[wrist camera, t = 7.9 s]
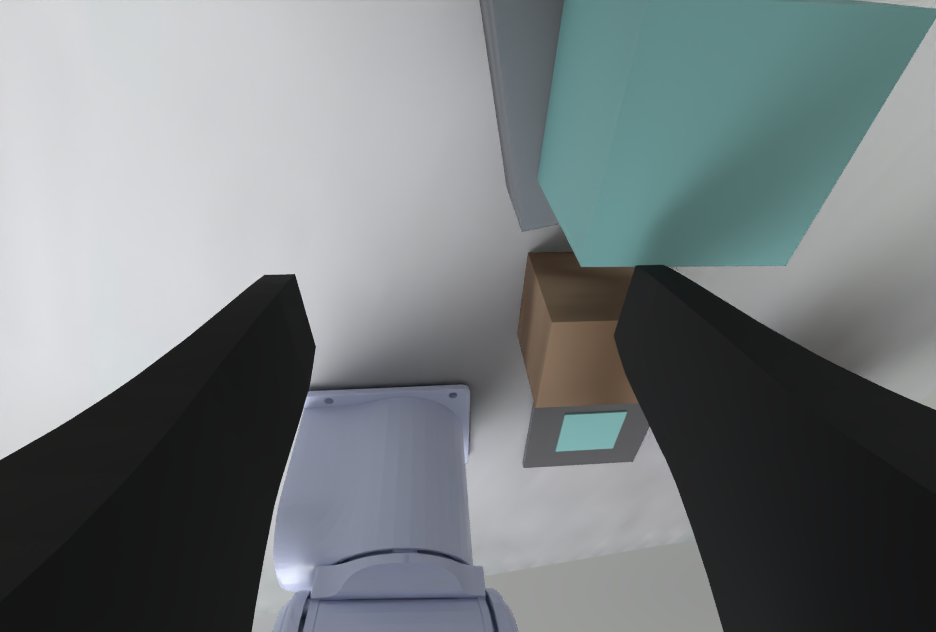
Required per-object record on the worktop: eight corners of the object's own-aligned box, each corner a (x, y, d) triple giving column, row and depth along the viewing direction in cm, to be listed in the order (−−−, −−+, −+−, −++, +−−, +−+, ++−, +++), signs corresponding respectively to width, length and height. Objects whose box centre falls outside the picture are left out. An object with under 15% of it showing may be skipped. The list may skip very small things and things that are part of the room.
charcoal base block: (505, 184, 18) (521, 231, 15) (475, -27, 14) (489, -20, 10) (676, 147, 18) (729, 188, 14) (703, -84, 13) (788, -96, 10)
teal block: (537, 179, 14) (581, 266, 10) (566, -21, 11) (649, -7, 7) (687, 181, 14) (785, 265, 10) (759, -10, 11) (940, 8, 7)
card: (522, 462, 31) (523, 469, 31) (535, 389, 26) (537, 395, 26) (630, 456, 32) (633, 462, 31) (664, 383, 27) (667, 389, 26)
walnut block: (517, 332, 23) (535, 407, 19) (527, 251, 20) (552, 322, 16) (608, 329, 23) (643, 402, 20) (632, 250, 20) (681, 318, 16)
